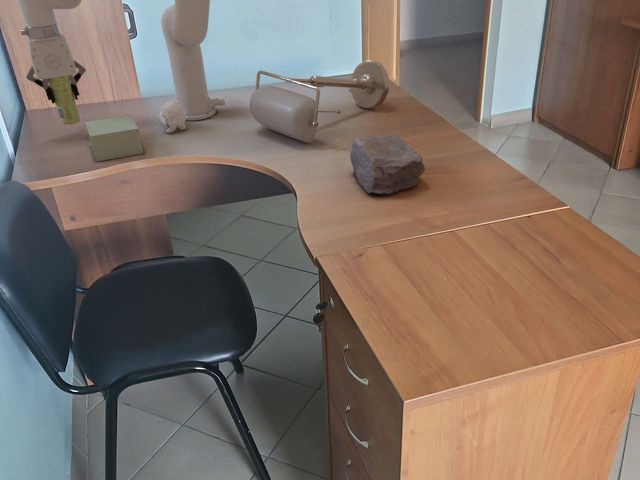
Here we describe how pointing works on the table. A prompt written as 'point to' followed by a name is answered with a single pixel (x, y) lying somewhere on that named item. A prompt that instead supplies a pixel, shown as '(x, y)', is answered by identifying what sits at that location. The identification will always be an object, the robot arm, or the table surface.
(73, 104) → the tube
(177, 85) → the robot arm
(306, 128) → the lamp
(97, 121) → the block
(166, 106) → the white irregular rounded piece
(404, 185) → the stone block
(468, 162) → the table surface
